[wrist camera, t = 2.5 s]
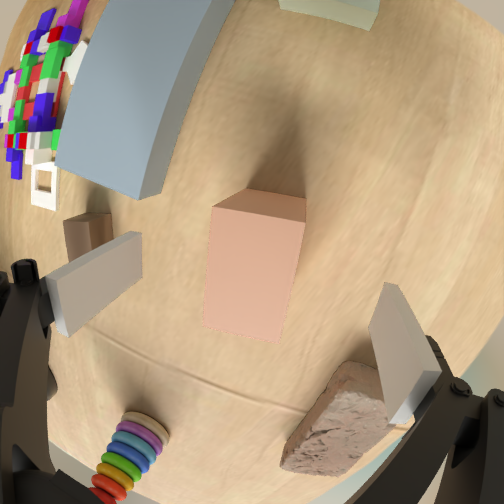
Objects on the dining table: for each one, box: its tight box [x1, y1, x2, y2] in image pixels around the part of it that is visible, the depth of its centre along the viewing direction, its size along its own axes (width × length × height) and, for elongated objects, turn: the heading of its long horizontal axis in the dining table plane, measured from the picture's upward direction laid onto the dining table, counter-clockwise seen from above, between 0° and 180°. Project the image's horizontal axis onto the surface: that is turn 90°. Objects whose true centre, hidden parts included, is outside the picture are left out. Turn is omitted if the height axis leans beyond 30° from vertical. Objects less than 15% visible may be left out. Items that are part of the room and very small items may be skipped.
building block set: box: [0, 0, 89, 211], centre depth 20 cm, size 25×20×4 cm
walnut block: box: [63, 213, 113, 262], centre depth 24 cm, size 4×7×4 cm, turn 178°
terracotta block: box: [203, 188, 306, 344], centre depth 18 cm, size 4×7×8 cm, turn 172°
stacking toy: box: [89, 412, 169, 504], centre depth 26 cm, size 8×8×19 cm
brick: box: [280, 361, 396, 477], centre depth 25 cm, size 17×8×5 cm, turn 164°
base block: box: [54, 0, 235, 200], centre depth 18 cm, size 10×20×4 cm, turn 159°
